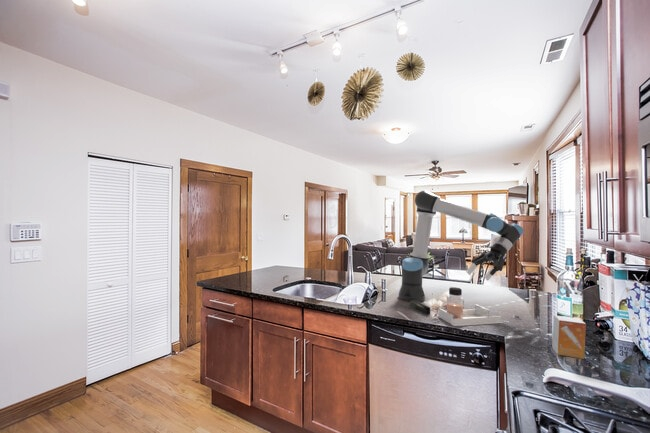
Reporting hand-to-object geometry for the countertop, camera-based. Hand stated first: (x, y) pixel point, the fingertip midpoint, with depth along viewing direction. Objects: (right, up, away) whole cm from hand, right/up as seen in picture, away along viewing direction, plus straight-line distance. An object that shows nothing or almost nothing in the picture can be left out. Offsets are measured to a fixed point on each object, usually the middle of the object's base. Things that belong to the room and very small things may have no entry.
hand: (476, 275), depth 162 cm
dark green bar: (-33, -18, -5) cm, 38 cm away
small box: (+9, -19, -49) cm, 54 cm away
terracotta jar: (-20, -17, -19) cm, 32 cm away
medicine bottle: (-12, -18, -2) cm, 22 cm away
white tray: (-12, -18, -17) cm, 28 cm away
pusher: (-4, -17, -15) cm, 23 cm away
